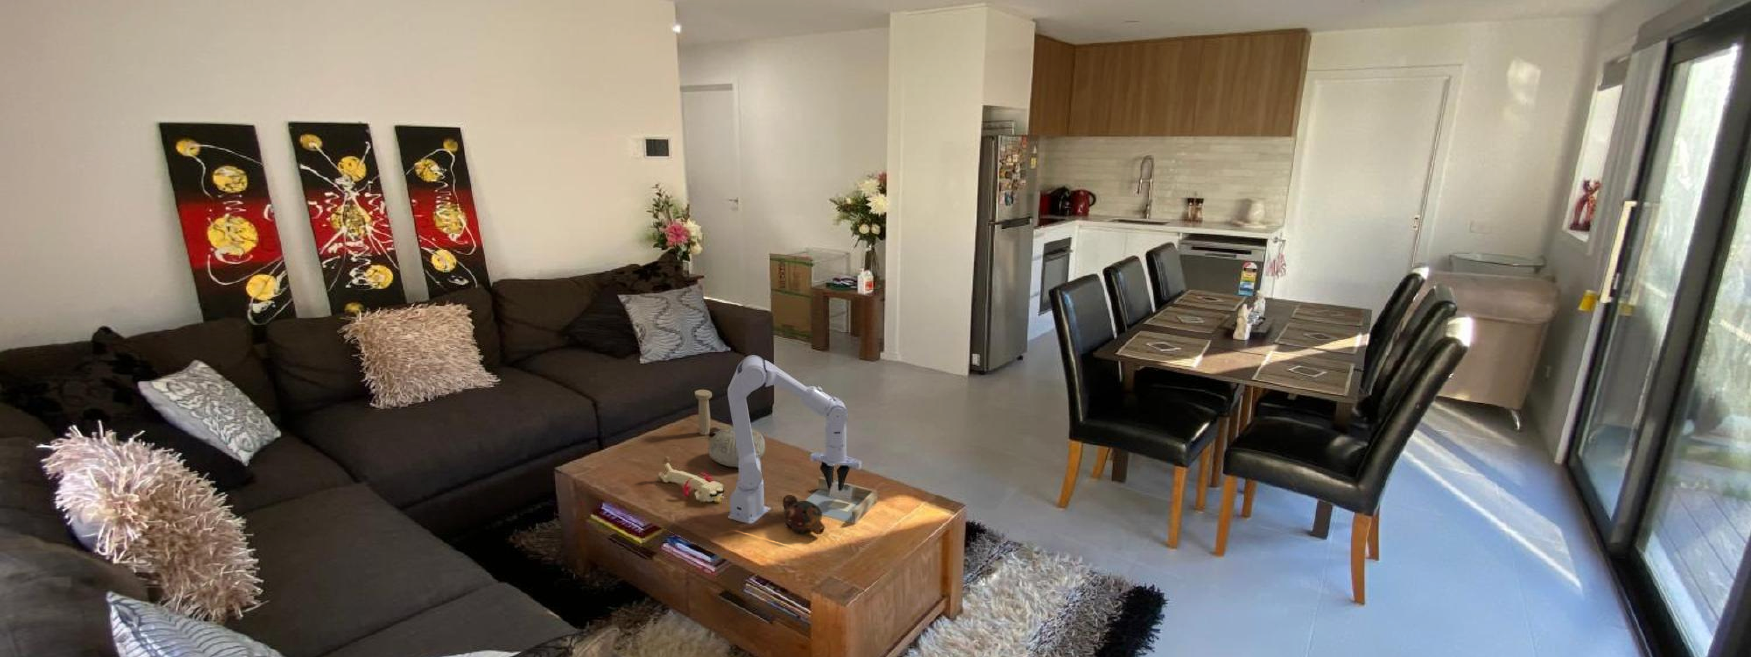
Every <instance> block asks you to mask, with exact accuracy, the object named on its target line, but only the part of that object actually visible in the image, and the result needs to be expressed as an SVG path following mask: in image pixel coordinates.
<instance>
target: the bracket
mask: <svg viewBox="0 0 1751 657" xmlns="http://www.w3.org/2000/svg"><path fill="white" fill-rule="evenodd" d="M850 484H851V483H848V484H844V487H843V489H842V490H841V491H838V482H835V483H831V488H830V494H829V497H831V498H836V499H840V498H842V499H847V500H854V496H855V489H856V486H855V485H856V484H853V485H850Z"/></svg>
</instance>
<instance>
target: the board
mask: <svg viewBox="0 0 1751 657" xmlns="http://www.w3.org/2000/svg"><path fill="white" fill-rule="evenodd" d="M829 494H830V492H828V491H824V490H820V489H819V488H818V489H817V490H816V491H815V492H814V493H813V494H811V495H810V496H808V497H807V498H806V499H805V500H804V501H809V502H811V503H813V504H815V505H816V506H818V507H819V509H820V510H821V512H822V517H827V518H830V519H834V520H838V521H842V522H845V523H849V524H852V511H853V510H854V509H855V508H856V507H857V506H858V505H859V504H860V503H861V502H862V501H863V500H860V499H856V498H854V500H847V499H842V498H840V499H836V498H831V497H829Z"/></svg>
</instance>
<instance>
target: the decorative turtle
mask: <svg viewBox="0 0 1751 657" xmlns="http://www.w3.org/2000/svg"><path fill="white" fill-rule="evenodd" d="M782 506H783V509H784V511H783V520H784V522H785V526H786V527H787V528H788V529H793V531H794V533H795V534H797V535H799V536H800V535H803V534H805V531H810V532H811V533H814V534H815V535H821V534H822V533H823V532H824V531H825V528H826V527H825V524H823V522H822V518H823V516H822V512H821V510H820V509H819V507H818V506H816V505H815V504H813V503H811V502H809V501H805V500H799V501H798V498H797V497H796V496H795V495H793V494H786V495H785V496H784V497H783V500H782Z"/></svg>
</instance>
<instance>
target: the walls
mask: <svg viewBox="0 0 1751 657" xmlns="http://www.w3.org/2000/svg"><path fill="white" fill-rule="evenodd" d="M835 482H838V480H835V479H833V483H835ZM844 484H850V485H855V486H856V489H855V496H854V498H856V499H860V500H863V501H862V502H861V503H860V504H859V505H858V506H857V507H856V508H855V509H854V510H853V511H852V523H851V524H853V525H856V524H857V523H858V522H859V521H860V520H861V519H862V518H863V517H864V516H865V515H866V514H867V513H868V512H870V510H871V509H872V508H873V507H874V506H875V505H876V504H877V503H878V490H877V489H874V488H868V487H864V486H862V485H861V486H860V485H856V484H852V483H848V482H844ZM818 489H820V490H824V491H828V492H830V489H828V486H827V482H826V479H825V477H823V476H819V477H818Z"/></svg>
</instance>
